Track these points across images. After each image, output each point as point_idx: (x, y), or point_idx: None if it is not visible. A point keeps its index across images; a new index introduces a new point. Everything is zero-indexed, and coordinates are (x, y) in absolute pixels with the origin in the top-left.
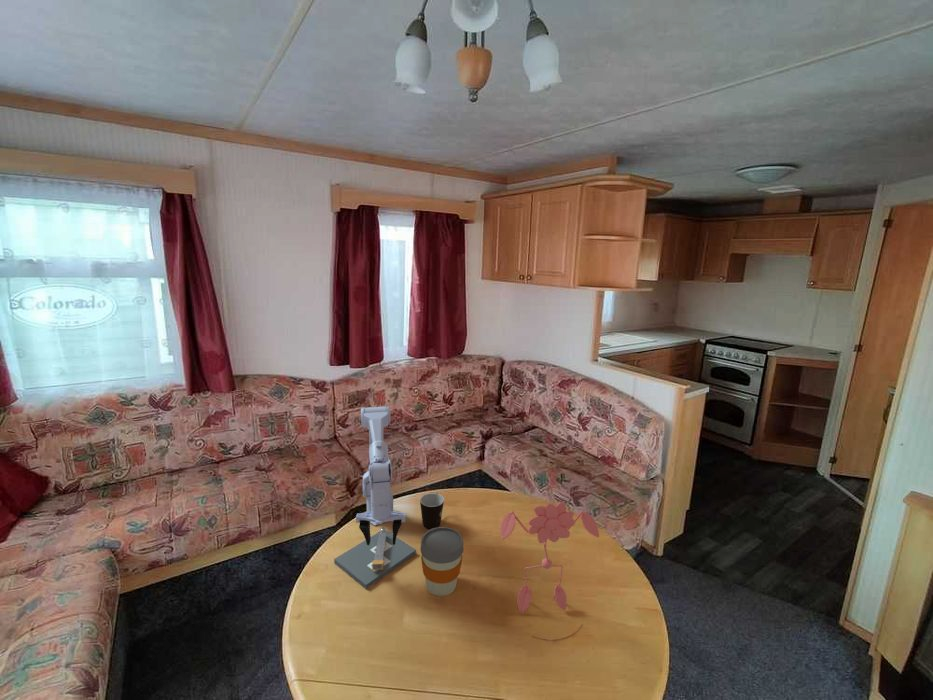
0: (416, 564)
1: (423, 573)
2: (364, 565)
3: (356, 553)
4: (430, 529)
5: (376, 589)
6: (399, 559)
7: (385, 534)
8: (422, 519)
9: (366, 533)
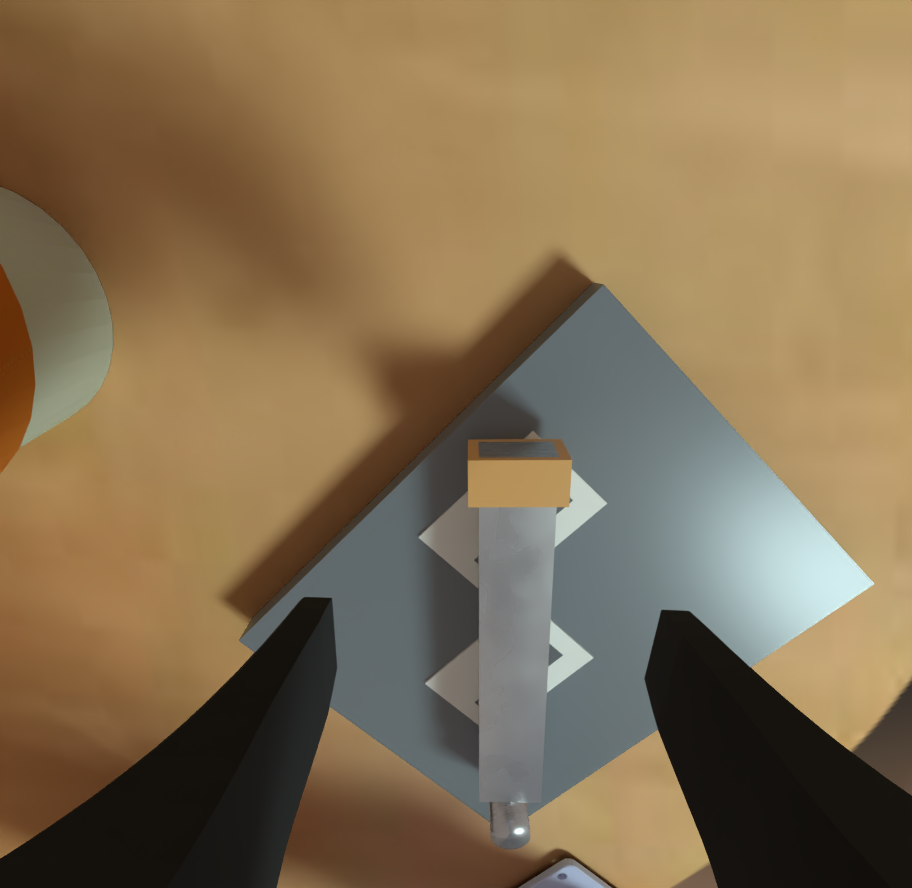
0: (229, 519)
1: (4, 274)
2: (627, 506)
3: None
4: None
5: (507, 278)
6: (350, 553)
7: (483, 783)
8: None
9: (831, 789)
